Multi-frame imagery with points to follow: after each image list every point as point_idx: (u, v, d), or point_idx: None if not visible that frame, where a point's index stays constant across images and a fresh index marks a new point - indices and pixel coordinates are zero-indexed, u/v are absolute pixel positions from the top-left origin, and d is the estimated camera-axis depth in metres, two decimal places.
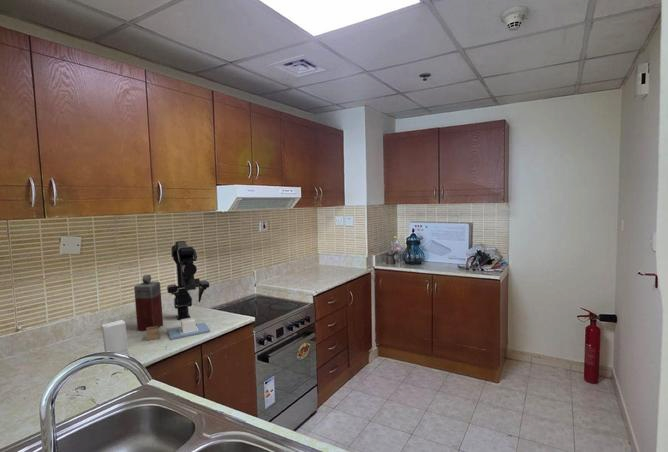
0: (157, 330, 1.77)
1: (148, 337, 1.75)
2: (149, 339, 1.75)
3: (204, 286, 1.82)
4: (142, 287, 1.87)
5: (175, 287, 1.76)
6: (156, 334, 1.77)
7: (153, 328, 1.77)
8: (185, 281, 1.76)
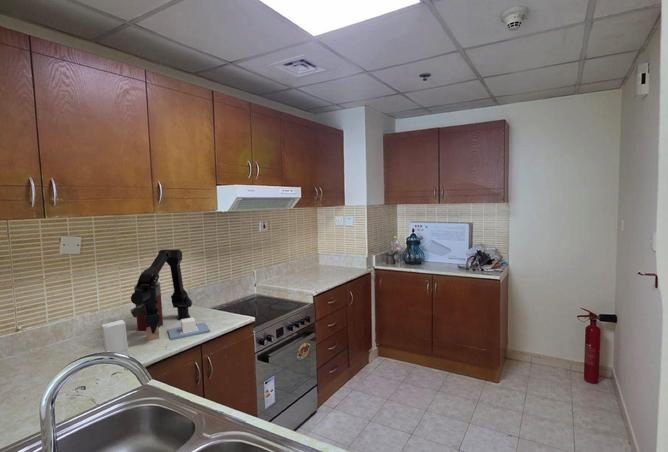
0: (157, 330, 1.77)
1: (148, 337, 1.75)
2: (149, 339, 1.75)
3: None
4: None
5: None
6: (156, 334, 1.77)
7: None
8: (138, 306, 1.76)
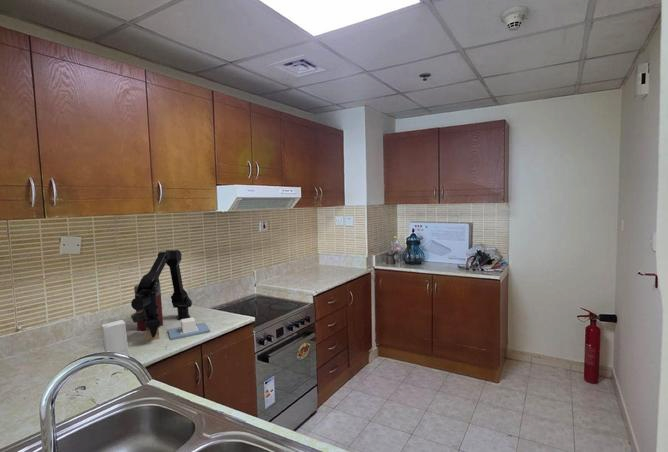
0: (157, 330, 1.77)
1: (148, 337, 1.75)
2: (149, 339, 1.75)
3: (145, 324, 1.70)
4: None
5: None
6: (156, 334, 1.77)
7: None
8: (138, 311, 1.76)
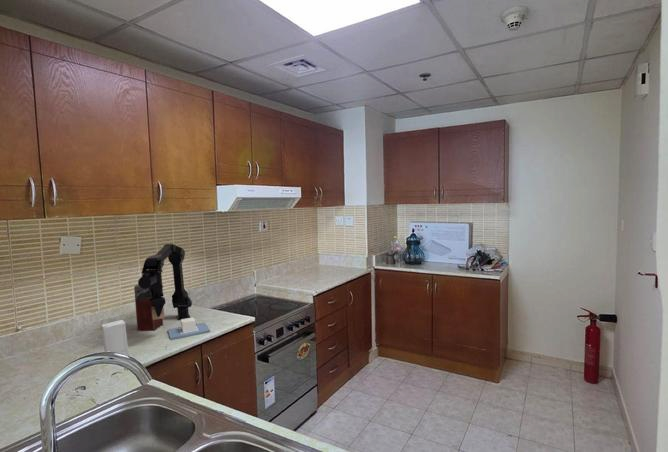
0: (162, 309, 1.77)
1: (153, 316, 1.75)
2: (154, 318, 1.76)
3: (150, 303, 1.70)
4: None
5: None
6: (161, 314, 1.77)
7: None
8: None
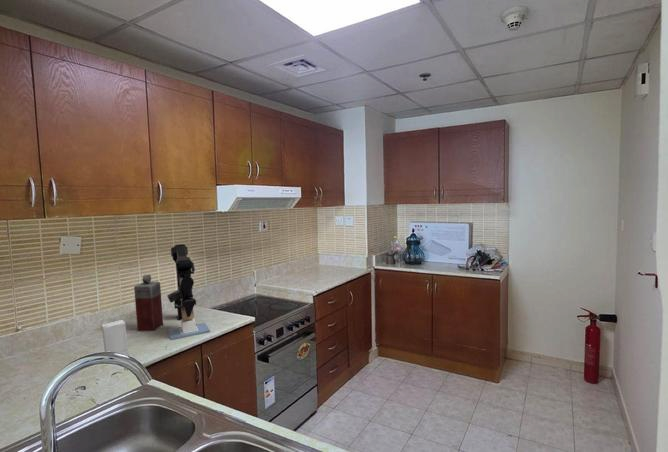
0: (192, 310, 1.83)
1: (183, 316, 1.81)
2: (184, 318, 1.82)
3: (181, 303, 1.76)
4: (142, 287, 1.87)
5: None
6: (191, 314, 1.83)
7: None
8: (174, 292, 1.83)
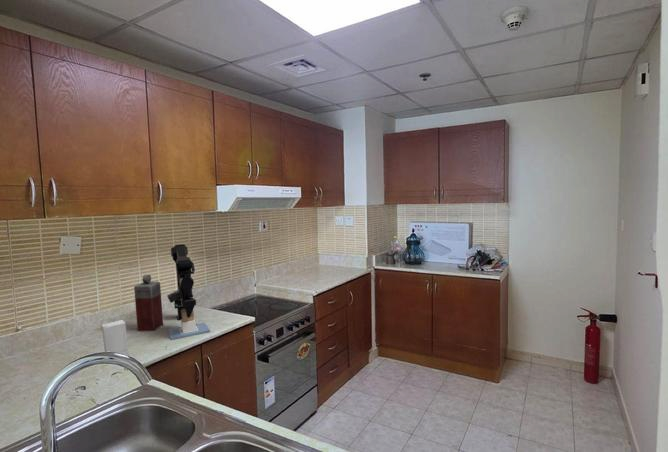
0: (192, 312, 1.83)
1: (184, 318, 1.81)
2: (185, 320, 1.82)
3: (181, 304, 1.76)
4: (142, 287, 1.87)
5: None
6: (191, 316, 1.83)
7: None
8: (174, 292, 1.83)
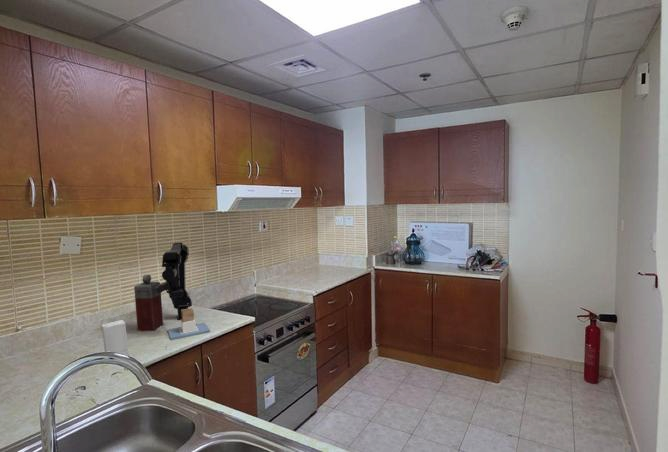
0: (192, 312, 1.83)
1: (184, 318, 1.81)
2: (185, 320, 1.82)
3: (169, 294, 1.80)
4: (142, 287, 1.87)
5: None
6: (191, 316, 1.83)
7: (188, 310, 1.84)
8: None
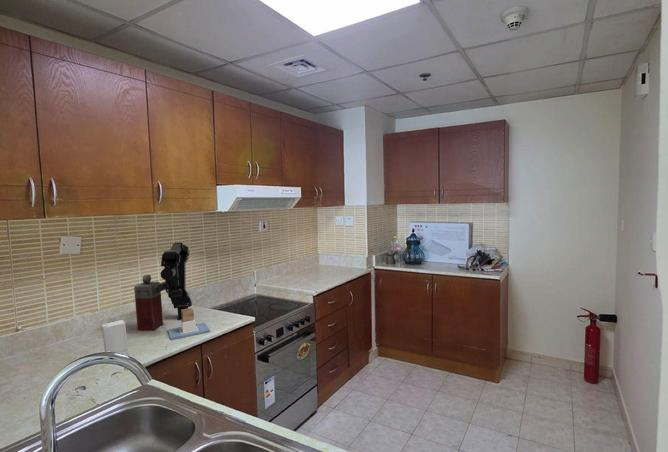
0: (192, 312, 1.83)
1: (184, 318, 1.81)
2: (185, 320, 1.82)
3: (168, 294, 1.80)
4: (142, 287, 1.87)
5: None
6: (191, 316, 1.83)
7: (188, 310, 1.84)
8: (160, 283, 1.87)
